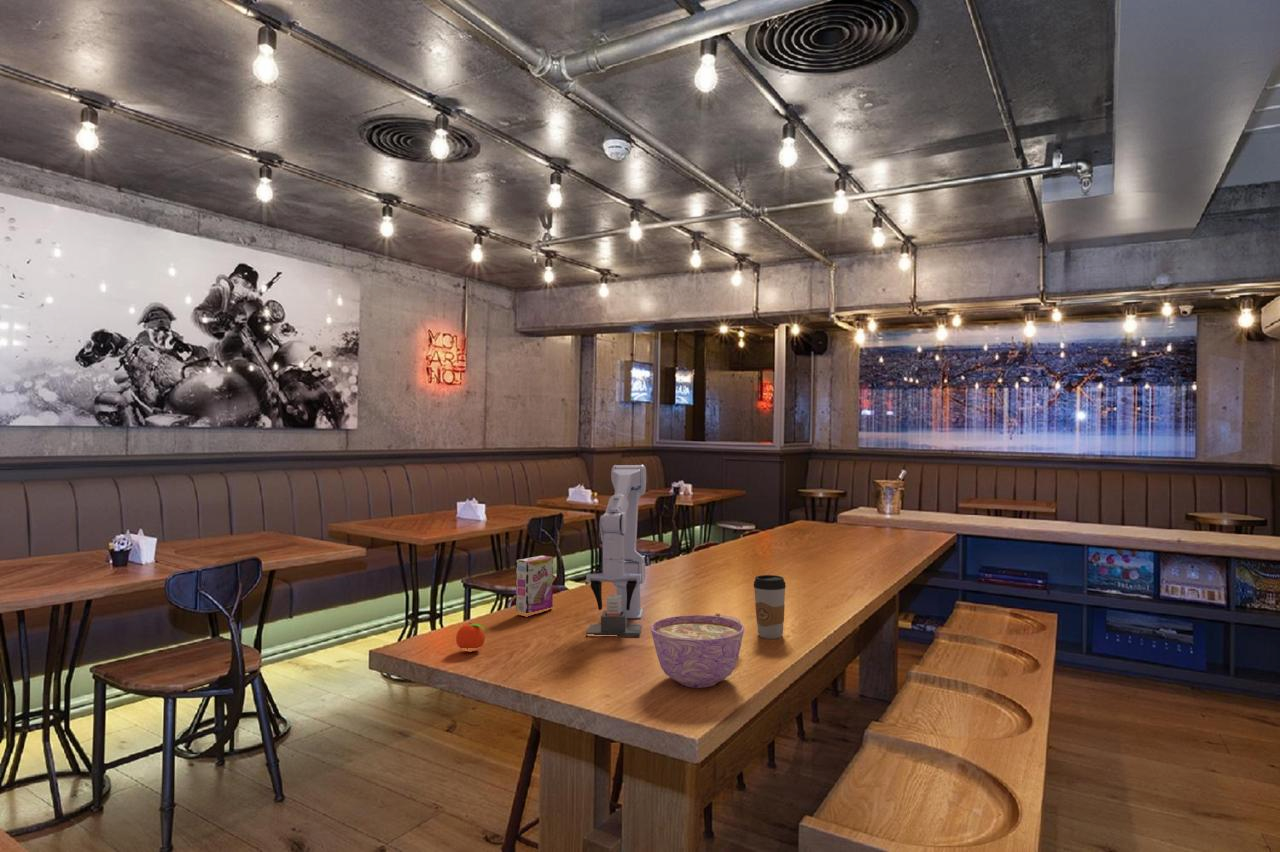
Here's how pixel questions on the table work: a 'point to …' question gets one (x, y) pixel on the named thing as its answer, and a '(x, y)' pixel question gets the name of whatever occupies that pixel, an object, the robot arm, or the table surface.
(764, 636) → the coffee cup
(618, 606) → the block
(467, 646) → the clementine
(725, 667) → the bowl of food
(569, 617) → the table surface
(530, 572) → the candy bar box
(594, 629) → the jack housing
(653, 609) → the table surface
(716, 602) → the table surface
